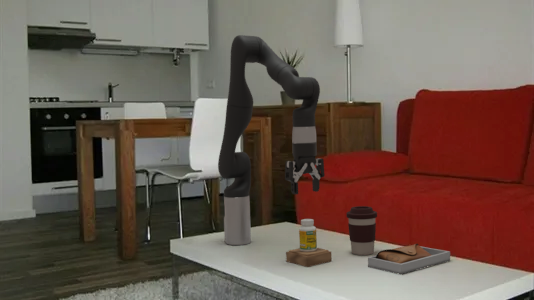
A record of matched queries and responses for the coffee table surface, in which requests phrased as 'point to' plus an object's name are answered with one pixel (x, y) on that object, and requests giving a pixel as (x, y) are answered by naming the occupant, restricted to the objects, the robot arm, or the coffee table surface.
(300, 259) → the walnut base
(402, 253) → the brown elongated piece
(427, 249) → the tray
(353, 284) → the coffee table surface
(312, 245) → the supplement bottle
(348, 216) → the coffee cup
